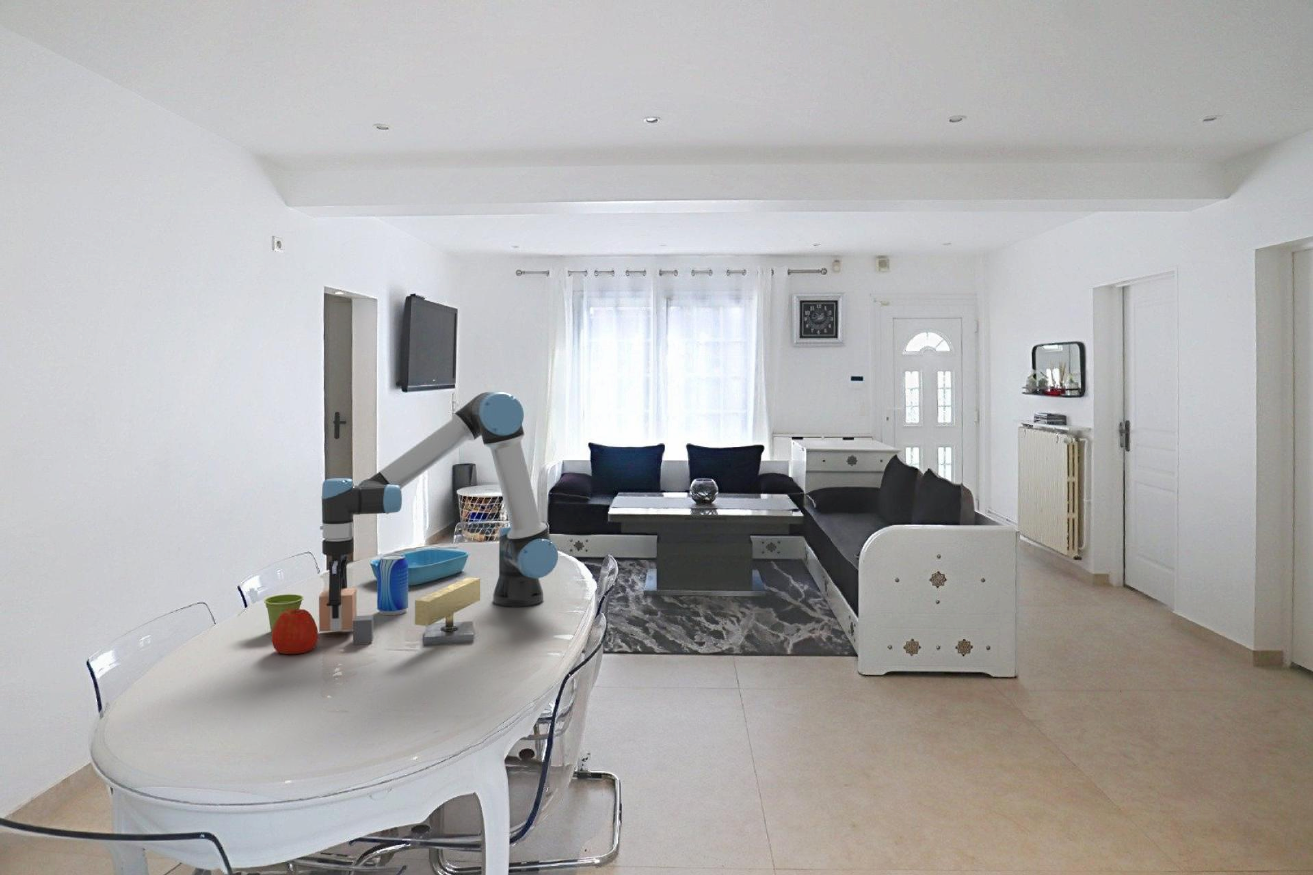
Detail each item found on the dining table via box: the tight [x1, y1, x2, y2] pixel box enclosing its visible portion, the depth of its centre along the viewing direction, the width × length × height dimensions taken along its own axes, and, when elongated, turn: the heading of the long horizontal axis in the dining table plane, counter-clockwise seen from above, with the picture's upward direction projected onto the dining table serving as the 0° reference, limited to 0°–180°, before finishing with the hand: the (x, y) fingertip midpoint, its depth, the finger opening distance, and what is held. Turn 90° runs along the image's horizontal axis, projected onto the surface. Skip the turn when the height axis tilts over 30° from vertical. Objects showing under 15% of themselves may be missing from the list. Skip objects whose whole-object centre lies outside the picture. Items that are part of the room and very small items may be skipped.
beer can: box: [376, 554, 409, 616], centre depth 227 cm, size 8×8×16 cm
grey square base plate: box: [423, 620, 475, 646], centre depth 205 cm, size 12×12×2 cm
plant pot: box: [263, 593, 304, 634], centre depth 208 cm, size 9×9×9 cm
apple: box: [271, 608, 319, 655], centre depth 192 cm, size 10×10×10 cm
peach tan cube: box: [318, 587, 358, 633], centre depth 206 cm, size 8×8×9 cm
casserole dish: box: [369, 548, 470, 586], centre depth 273 cm, size 37×22×7 cm, turn 156°
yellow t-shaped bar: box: [414, 577, 481, 628], centre depth 205 cm, size 26×4×10 cm, turn 164°
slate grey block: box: [352, 614, 375, 645], centre depth 200 cm, size 4×4×6 cm
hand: (338, 625), depth 206 cm, fingers closed on peach tan cube, 8 cm apart
